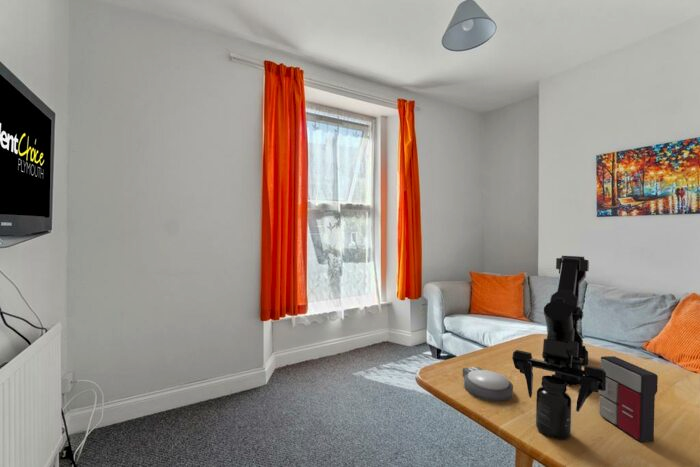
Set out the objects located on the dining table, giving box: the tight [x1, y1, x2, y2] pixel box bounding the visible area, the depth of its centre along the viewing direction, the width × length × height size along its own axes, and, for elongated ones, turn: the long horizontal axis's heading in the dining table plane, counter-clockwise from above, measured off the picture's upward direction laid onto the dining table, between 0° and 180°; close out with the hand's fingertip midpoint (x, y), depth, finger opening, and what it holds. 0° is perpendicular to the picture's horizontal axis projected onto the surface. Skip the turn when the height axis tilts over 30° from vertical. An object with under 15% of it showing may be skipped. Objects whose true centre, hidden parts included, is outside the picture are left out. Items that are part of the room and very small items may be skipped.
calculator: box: [598, 355, 659, 443], centre depth 76 cm, size 11×4×15 cm, turn 5°
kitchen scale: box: [462, 366, 514, 403], centre depth 95 cm, size 13×16×4 cm
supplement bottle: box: [535, 374, 572, 441], centre depth 74 cm, size 7×7×12 cm
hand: (552, 403), depth 74 cm, fingers open, 9 cm apart
